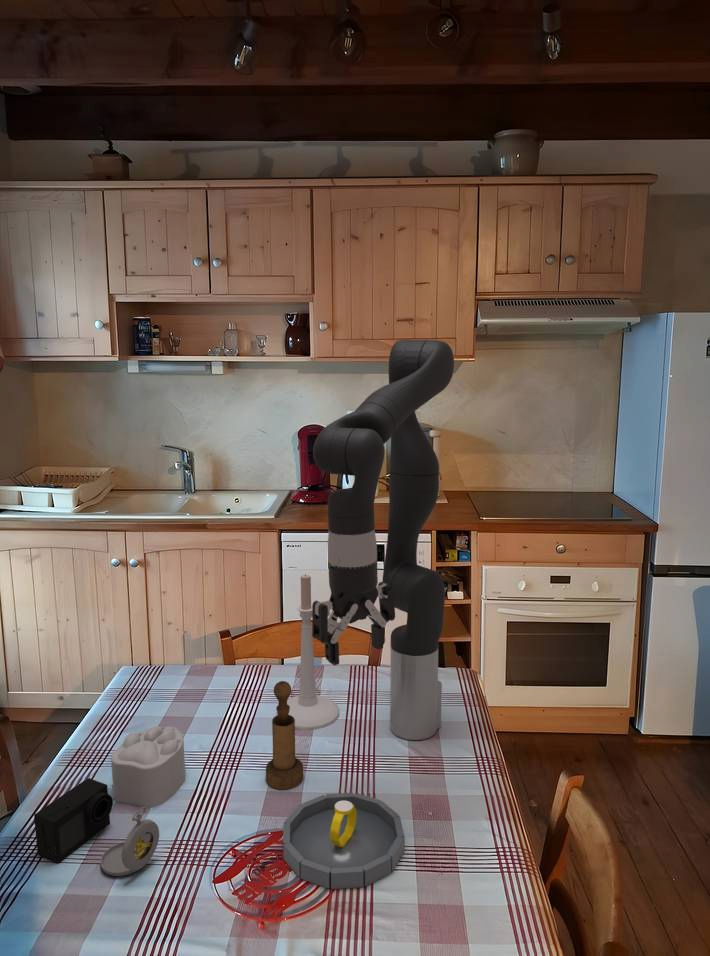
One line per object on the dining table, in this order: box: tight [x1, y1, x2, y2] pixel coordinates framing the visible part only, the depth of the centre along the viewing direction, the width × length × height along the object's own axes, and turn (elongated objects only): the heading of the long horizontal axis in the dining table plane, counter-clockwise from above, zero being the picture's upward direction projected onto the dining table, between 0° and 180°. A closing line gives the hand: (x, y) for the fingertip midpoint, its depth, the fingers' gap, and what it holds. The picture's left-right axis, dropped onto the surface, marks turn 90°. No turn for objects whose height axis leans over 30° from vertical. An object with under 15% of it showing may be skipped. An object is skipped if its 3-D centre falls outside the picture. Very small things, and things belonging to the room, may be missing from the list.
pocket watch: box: [100, 807, 160, 877], centre depth 105 cm, size 8×8×10 cm
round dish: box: [282, 792, 405, 890], centre depth 109 cm, size 18×18×2 cm
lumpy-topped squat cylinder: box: [110, 726, 186, 809], centre depth 125 cm, size 10×13×9 cm
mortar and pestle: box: [265, 680, 304, 790], centre depth 125 cm, size 7×6×18 cm
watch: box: [330, 801, 357, 848], centre depth 109 cm, size 6×3×6 cm, turn 153°
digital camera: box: [33, 777, 114, 865], centre depth 110 cm, size 10×5×7 cm, turn 153°
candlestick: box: [276, 573, 340, 731], centre depth 146 cm, size 13×13×30 cm
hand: (355, 655), depth 114 cm, fingers open, 8 cm apart
